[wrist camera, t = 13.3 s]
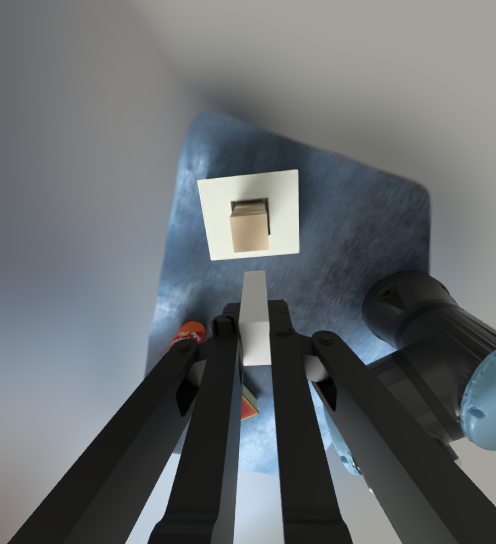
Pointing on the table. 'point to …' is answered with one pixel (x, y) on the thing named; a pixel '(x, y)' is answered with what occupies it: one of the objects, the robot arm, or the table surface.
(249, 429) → the table surface
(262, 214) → the maple peg
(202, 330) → the paper cup
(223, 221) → the socket block
